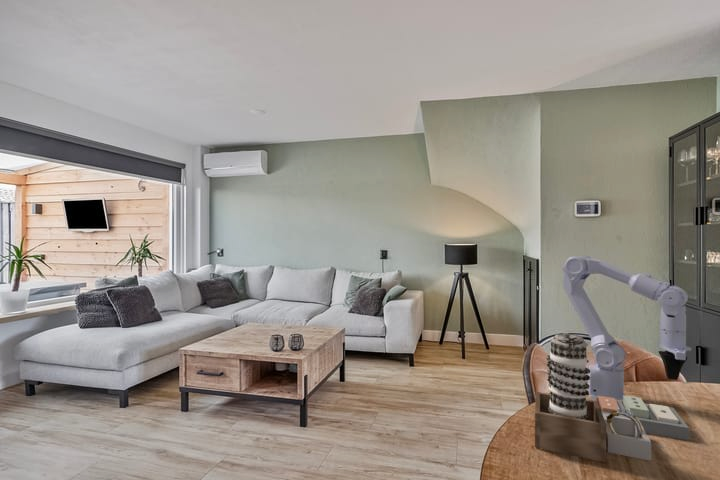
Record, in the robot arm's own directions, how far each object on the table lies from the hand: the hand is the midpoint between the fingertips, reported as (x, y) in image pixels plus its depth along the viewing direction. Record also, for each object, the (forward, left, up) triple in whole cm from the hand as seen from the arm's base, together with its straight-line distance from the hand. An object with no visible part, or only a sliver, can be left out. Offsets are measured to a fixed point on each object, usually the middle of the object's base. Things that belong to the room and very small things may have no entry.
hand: (672, 378), depth 110 cm
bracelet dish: (-16, -26, -9) cm, 32 cm away
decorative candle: (-28, -30, -10) cm, 42 cm away
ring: (-16, -26, -9) cm, 32 cm away
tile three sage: (-11, -11, -7) cm, 17 cm away
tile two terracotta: (-16, -11, -9) cm, 22 cm away
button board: (-11, -11, -9) cm, 18 cm away
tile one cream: (-4, -11, -9) cm, 15 cm away
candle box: (-28, -30, -9) cm, 42 cm away
